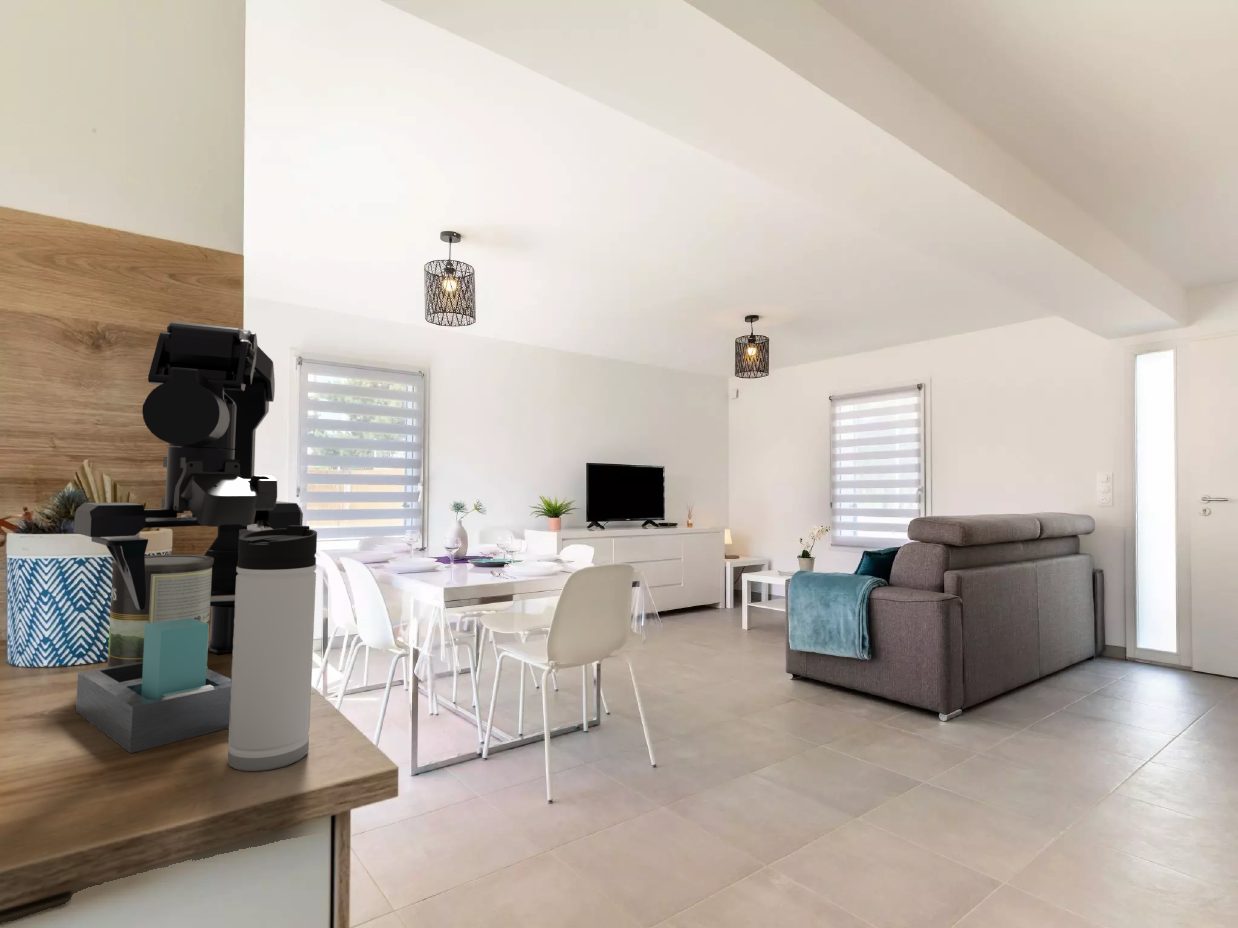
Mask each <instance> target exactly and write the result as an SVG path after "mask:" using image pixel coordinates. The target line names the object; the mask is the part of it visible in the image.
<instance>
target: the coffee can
mask: <svg viewBox="0 0 1238 928" xmlns="http://www.w3.org/2000/svg"><path fill="white" fill-rule="evenodd" d="M213 563H214V558H213V557H210V556H204V554H203V555H202V554H200V555H199V554H156V555H155V554H153V555H145V574H146V603H145V609H144V610H138V609H137V608H136V606H135V604H134V601H133V599H132V597H131V594H130V592H129V590H128V587H127V585H126V582H125V580H124V578H123V575H122V573H121V571H120V569H119V567H118V565H117V563H116V561H115V560H112V561H111V569H112V574H111V576H112V577H111V592H110V593H111V594H110V609H109V611H110V612H109V615H110V616H109V630H108V631H109V632H108V647H107V648H108V650H107V666H106V667H110V666H117V665H123V664H129V663H135V662H141V661H143V654H144V635H145V624H148V623H156V622H164V621H171V620H179V619H187V618H193V619H196V620H199V621H202V622H205V623H208V636H210V618H211V606H210V598H211V597H212V596H211V579H212V565H213ZM208 651H209V650H208V644H207V655H208ZM206 668H208V664H207V665H206ZM208 669H209V668H208Z"/></svg>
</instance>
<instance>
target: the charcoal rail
mask: <svg viewBox="0 0 1238 928" xmlns="http://www.w3.org/2000/svg"><path fill="white" fill-rule="evenodd" d="M142 673H143V661H141V662H135V663H129V664H123V665H117V666H110V667H107V666H106V667H99V668H93V669H88V670H87V669H86V670H82V671H78V672H77V686H76V704H75V705H76V706H75V712H76V713H77V714H78V715H80V716H81V717H82V718H84V719H85V720H87V721H88V722H89V723H90V724H92V725H93V726H94V727H96V728H97V729H98V730H100V732H102V733H103V734H104V735H106V736H107V737H109V739H111V740H112V741H113V742H115V743H116V744H118V745H119V746H120V747H122V748H123V750H125V751H126V752H128V753H129V754H132V753H137V752H141V751H145V750H149V749H153V748H156V747H160V746H164V745H168V744H173V743H177V742H179V741H184V740H188V739H191V738H195V737H199V736H203V735H208V734H211V733H214V732H220V731H222V730H223V731H224V730H226V729H229V719H230V697H231V678H230V677H228V676H226V675H224V674H220V673H219V672H217V671H214V670H212V669H210V668H206V685H205V686H201V687H196V688H191V689H186V690H182V691H177V692H172V693H167V694H162V698H158V699H153V700H147V699H146V698H144V697H142V696H141V692H142Z"/></svg>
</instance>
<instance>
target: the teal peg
mask: <svg viewBox="0 0 1238 928" xmlns="http://www.w3.org/2000/svg"><path fill="white" fill-rule="evenodd" d="M208 641H209V635H208V623H205V622H202V621H199V620H196V619H193V618H187V619H179V620H171V621H164V622H156V623H148V624H145V635H144V654H143V673H142V692H141V696H142V697H144V698H146V699H147V700H153V699H158V698H162V694H167V693H172V692H177V691H182V690H186V689H191V688H196V687H201V686H205V685H206V665H207V666H208V654H207V644H208Z"/></svg>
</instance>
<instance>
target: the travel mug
mask: <svg viewBox="0 0 1238 928" xmlns="http://www.w3.org/2000/svg"><path fill="white" fill-rule="evenodd" d="M317 542H318V532H317V531H316V530H314V529H310V526H309V525H302V526H294V525H291V526H287V528H285V529H270V530H262V531H256V532H251V533H247V534H244V535H242V536H240V537H239V542H238V555H239V559H238V563H237V569H236V571H237V573H238V575H237V576H236V590H235V595H234V596H235V612H234V633H233V651H232V657H231V659H232V660H231V678H230V679H231V697H230V719H229V728H228V745H227V764H229V766H230V767H231V768H233V769H236V770H237V771H238V770H239V771H244V772H263V771H270V770H277V769H280V768H283V767H287V766H289V765H291V764H295V763H296V762H299V761H300V760H301V759H303V757H305V756H306V755H307V754H308V752H309V749H310V734H309V733H310V725H311V702H312V701H311V700H312V698H311V697H312V680H313V679H312V678H313V677H312V676H313V673H312V672H313V657H314V656H313V655H314V653H313V652H314V634H315V633H314V632H315V630H314V628H315V607H316V606H315V605H316V585H317V583H316V581H317V580H316V579H317V572H315V571H316V570H317V557H316V554H317V547H318V546H317V545H318V543H317Z"/></svg>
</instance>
